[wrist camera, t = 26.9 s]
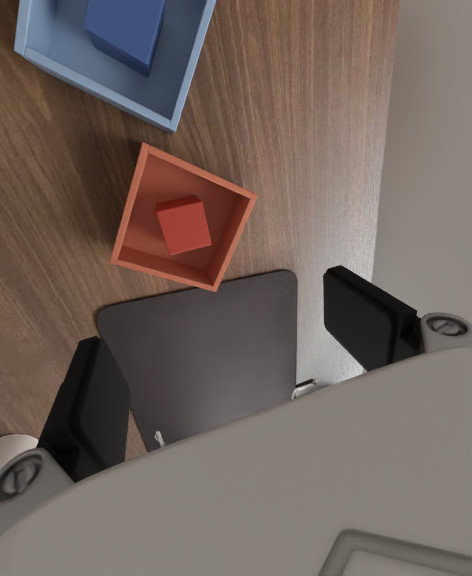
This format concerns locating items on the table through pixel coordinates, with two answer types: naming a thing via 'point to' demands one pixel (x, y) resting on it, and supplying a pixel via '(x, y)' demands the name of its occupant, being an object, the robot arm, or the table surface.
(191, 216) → the red block
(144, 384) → the mouse pad
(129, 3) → the blue block
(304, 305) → the table surface
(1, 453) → the foam cup
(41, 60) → the blue bin
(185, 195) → the red bin
